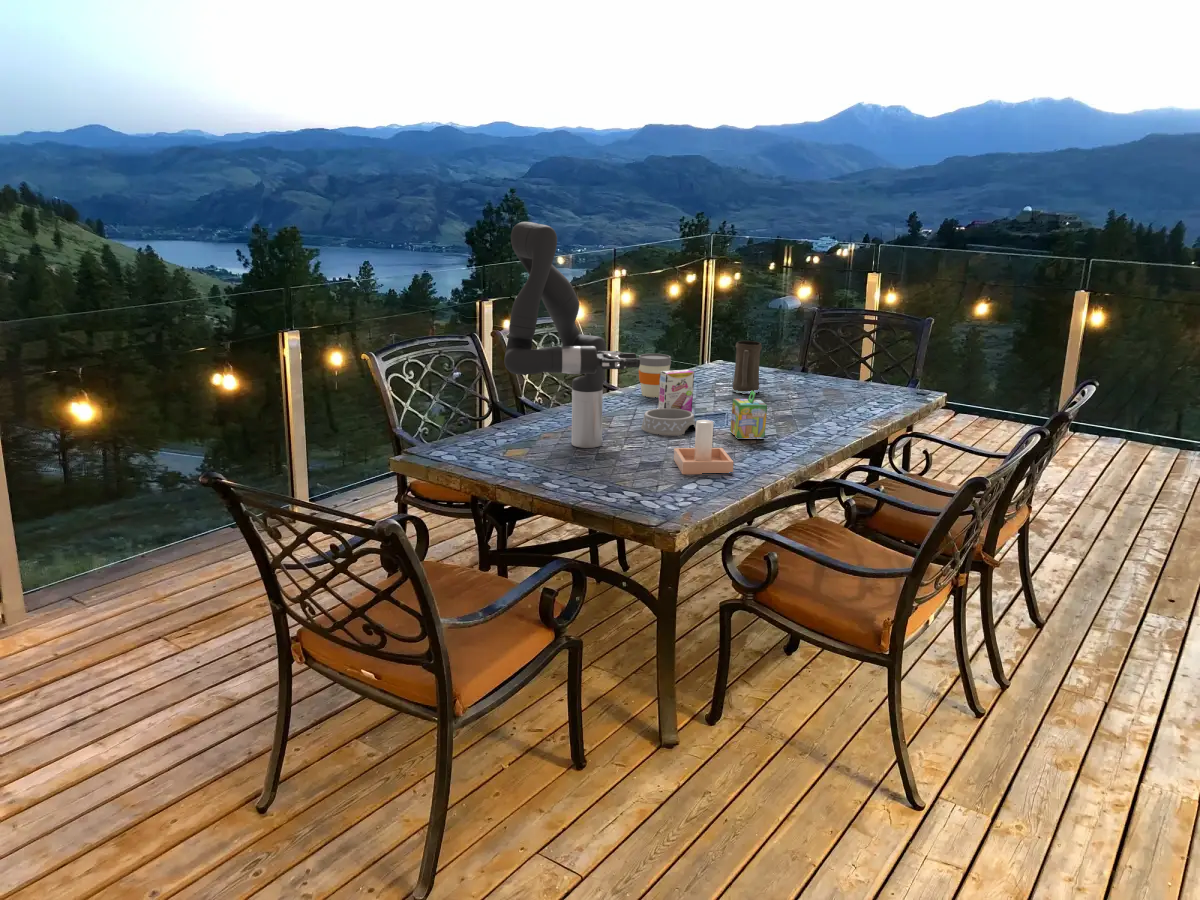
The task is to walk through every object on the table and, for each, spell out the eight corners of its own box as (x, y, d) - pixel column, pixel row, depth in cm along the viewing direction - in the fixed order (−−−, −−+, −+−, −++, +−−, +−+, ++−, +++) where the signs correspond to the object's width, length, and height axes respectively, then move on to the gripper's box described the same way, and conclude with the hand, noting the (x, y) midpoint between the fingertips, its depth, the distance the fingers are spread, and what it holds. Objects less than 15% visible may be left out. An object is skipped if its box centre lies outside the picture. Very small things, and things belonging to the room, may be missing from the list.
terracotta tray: (673, 459, 254) (674, 448, 253) (721, 459, 256) (722, 447, 255) (682, 474, 241) (683, 462, 240) (732, 473, 242) (733, 461, 241)
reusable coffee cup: (637, 398, 332) (639, 358, 328) (636, 391, 344) (637, 353, 340) (671, 398, 332) (672, 359, 328) (668, 391, 344) (670, 353, 340)
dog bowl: (631, 429, 288) (631, 413, 286) (663, 419, 302) (663, 404, 300) (674, 439, 278) (675, 422, 276) (705, 428, 291) (706, 412, 290)
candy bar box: (664, 421, 299) (666, 373, 294) (657, 417, 303) (659, 370, 298) (692, 418, 303) (695, 371, 299) (685, 415, 308) (687, 368, 303)
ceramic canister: (692, 460, 250) (694, 419, 247) (709, 460, 251) (711, 419, 247) (695, 465, 245) (697, 424, 242) (712, 465, 246) (715, 424, 243)
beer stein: (731, 388, 353) (734, 339, 346) (758, 389, 352) (761, 339, 345) (732, 398, 339) (735, 348, 332) (760, 400, 338) (764, 348, 331)
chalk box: (729, 433, 285) (732, 388, 281) (757, 433, 286) (760, 388, 282) (736, 440, 276) (739, 394, 272) (765, 440, 277) (768, 394, 273)
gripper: (580, 350, 231) (641, 350, 232) (576, 341, 245) (634, 342, 246) (580, 378, 233) (640, 378, 234) (576, 368, 247) (634, 368, 248)
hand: (637, 360), depth 240 cm, fingers open, 8 cm apart
